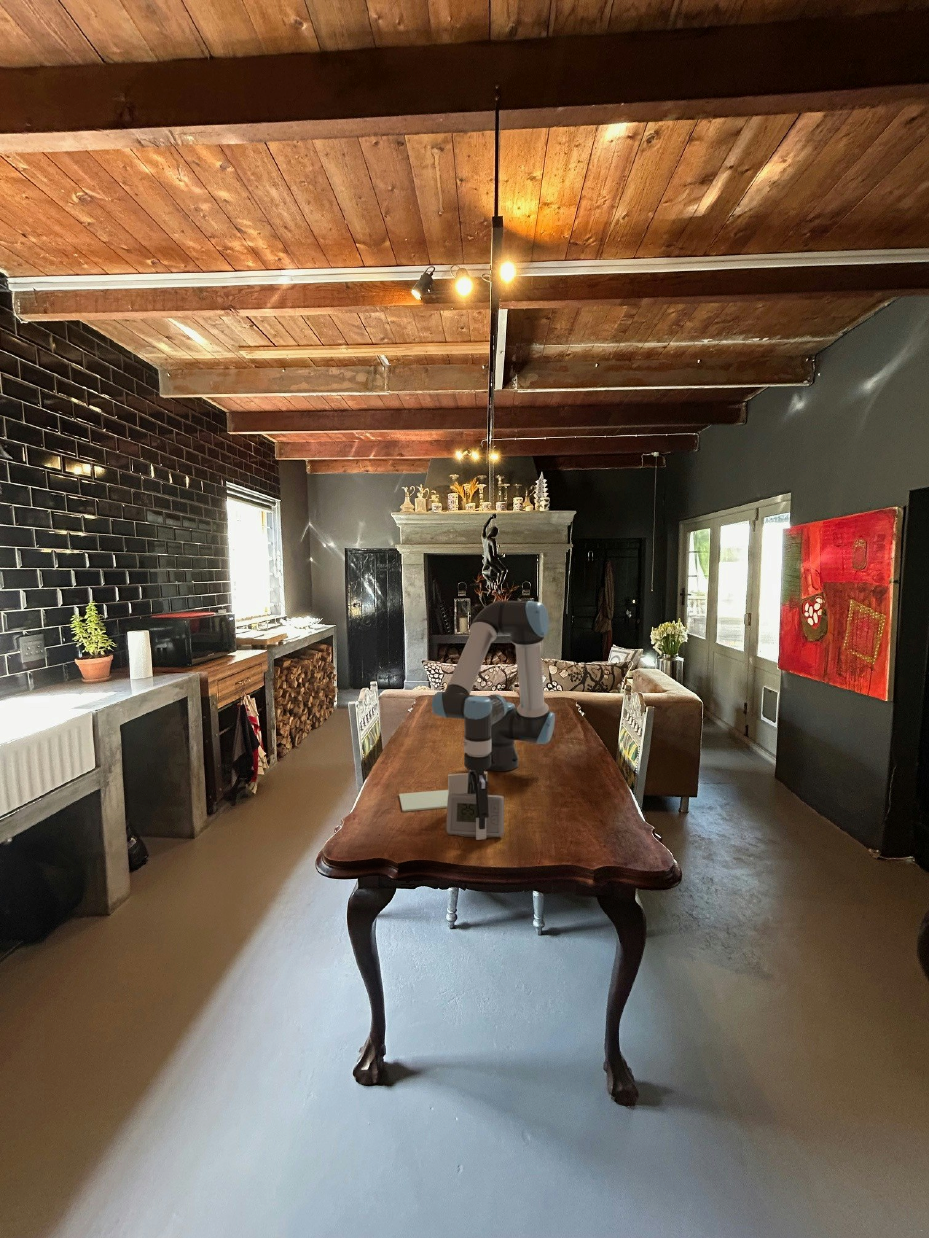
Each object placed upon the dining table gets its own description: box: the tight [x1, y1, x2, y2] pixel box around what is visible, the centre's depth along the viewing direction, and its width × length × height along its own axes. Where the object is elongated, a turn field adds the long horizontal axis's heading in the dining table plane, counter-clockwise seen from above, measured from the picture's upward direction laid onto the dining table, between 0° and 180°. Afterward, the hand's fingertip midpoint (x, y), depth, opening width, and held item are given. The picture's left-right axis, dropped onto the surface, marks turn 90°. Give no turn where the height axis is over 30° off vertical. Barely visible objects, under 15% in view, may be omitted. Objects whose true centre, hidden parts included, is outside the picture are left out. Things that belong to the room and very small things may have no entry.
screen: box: [447, 771, 488, 795], centre depth 163 cm, size 12×4×12 cm, turn 102°
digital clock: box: [445, 793, 505, 839], centre depth 150 cm, size 16×9×11 cm, turn 72°
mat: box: [398, 789, 448, 812], centre depth 171 cm, size 19×12×1 cm, turn 102°
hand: (477, 830), depth 151 cm, fingers closed on digital clock, 8 cm apart
